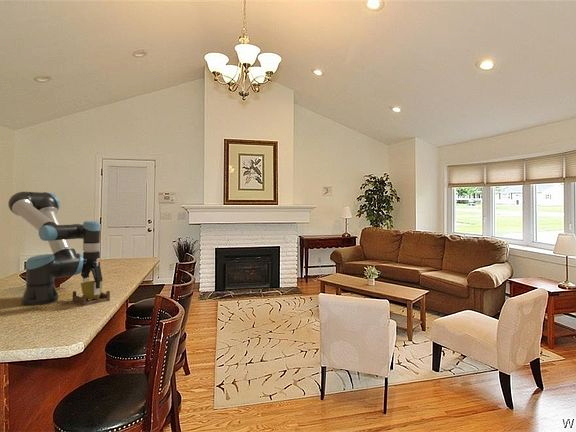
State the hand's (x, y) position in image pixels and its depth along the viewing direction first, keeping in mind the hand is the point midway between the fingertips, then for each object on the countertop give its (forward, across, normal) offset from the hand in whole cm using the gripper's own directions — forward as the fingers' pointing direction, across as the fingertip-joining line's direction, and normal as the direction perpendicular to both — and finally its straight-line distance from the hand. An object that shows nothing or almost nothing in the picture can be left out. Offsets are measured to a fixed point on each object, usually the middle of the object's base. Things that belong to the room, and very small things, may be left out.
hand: (91, 292), depth 179 cm
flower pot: (+3, -2, 0) cm, 4 cm away
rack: (+4, 0, 0) cm, 4 cm away
